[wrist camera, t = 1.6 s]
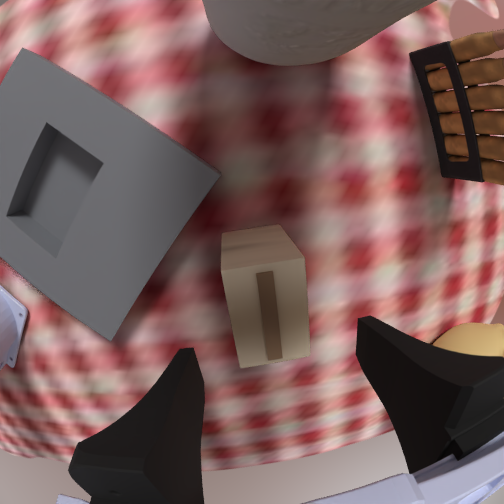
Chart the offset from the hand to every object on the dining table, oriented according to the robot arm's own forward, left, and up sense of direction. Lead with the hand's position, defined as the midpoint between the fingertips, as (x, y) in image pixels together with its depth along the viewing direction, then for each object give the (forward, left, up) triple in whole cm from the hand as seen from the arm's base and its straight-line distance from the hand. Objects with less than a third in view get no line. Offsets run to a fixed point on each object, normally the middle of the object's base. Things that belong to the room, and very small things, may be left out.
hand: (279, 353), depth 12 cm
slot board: (-3, +15, -10) cm, 18 cm away
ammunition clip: (+19, -4, -10) cm, 22 cm away
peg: (0, 0, -10) cm, 10 cm away
